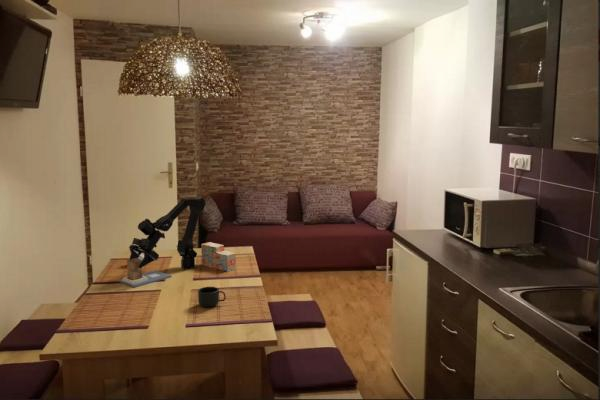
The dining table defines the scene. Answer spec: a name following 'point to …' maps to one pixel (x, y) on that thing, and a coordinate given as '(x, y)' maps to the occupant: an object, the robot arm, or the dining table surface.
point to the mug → (209, 296)
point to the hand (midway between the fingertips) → (134, 266)
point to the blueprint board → (145, 279)
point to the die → (140, 257)
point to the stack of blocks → (217, 257)
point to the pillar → (134, 269)
